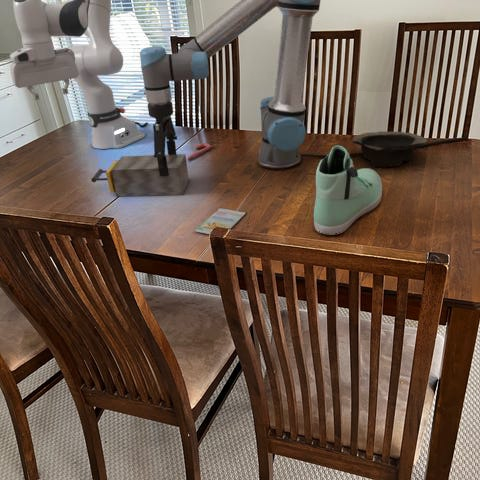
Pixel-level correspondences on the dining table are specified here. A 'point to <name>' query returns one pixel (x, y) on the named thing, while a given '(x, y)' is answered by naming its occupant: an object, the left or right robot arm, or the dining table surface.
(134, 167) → the grey zigzag patterned box
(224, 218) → the baking ingredient package
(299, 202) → the dining table surface
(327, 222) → the sneaker
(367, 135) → the stone bowl
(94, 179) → the drawer
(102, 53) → the left robot arm
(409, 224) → the dining table surface
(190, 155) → the candy cane
